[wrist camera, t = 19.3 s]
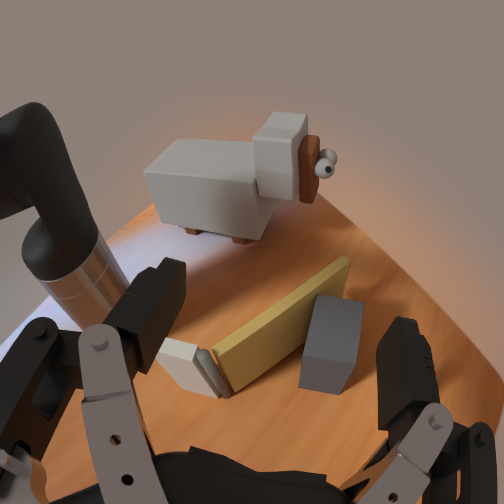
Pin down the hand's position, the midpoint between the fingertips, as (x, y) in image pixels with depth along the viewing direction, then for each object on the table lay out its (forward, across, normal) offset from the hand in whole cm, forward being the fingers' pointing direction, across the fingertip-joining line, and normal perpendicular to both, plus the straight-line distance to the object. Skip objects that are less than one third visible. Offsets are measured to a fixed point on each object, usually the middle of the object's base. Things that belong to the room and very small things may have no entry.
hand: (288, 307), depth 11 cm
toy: (+37, +7, +21) cm, 43 cm away
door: (+17, -3, +23) cm, 29 cm away
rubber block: (+15, -8, +23) cm, 28 cm away
